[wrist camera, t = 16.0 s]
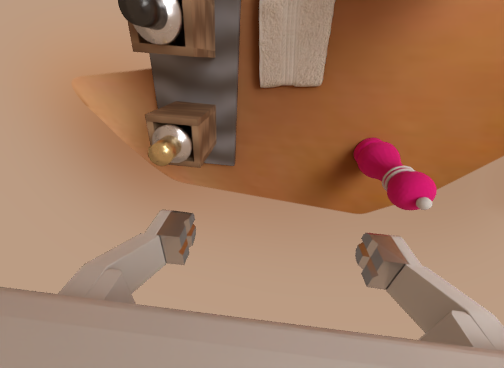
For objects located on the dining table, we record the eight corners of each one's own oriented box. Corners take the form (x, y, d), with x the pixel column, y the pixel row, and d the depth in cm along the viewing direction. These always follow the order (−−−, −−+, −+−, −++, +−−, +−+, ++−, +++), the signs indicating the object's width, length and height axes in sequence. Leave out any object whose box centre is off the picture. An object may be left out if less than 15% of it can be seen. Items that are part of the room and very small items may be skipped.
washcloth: (339, -47, 31) (346, -57, 28) (321, 86, 40) (325, 88, 37) (259, -43, 32) (258, -52, 29) (259, 87, 41) (258, 89, 38)
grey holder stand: (138, -48, 32) (64, -108, 21) (242, -40, 32) (225, -98, 20) (168, 156, 50) (136, 185, 38) (234, 163, 49) (223, 194, 38)
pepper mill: (350, 169, 48) (395, 230, 31) (351, 138, 44) (401, 188, 27) (385, 163, 46) (452, 224, 29) (388, 132, 43) (466, 180, 26)
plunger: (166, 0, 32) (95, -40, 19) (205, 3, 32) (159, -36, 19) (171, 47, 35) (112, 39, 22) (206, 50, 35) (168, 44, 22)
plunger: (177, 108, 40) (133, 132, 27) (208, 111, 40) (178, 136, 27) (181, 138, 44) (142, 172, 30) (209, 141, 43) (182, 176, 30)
